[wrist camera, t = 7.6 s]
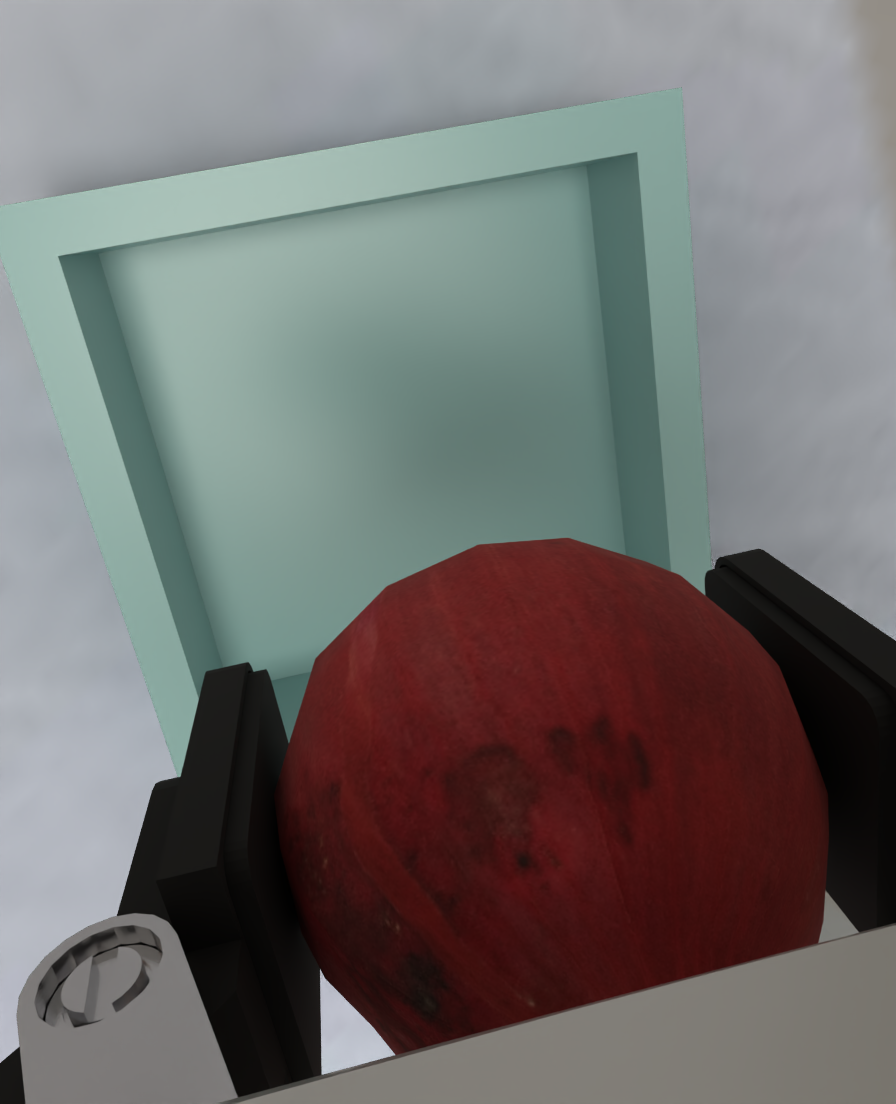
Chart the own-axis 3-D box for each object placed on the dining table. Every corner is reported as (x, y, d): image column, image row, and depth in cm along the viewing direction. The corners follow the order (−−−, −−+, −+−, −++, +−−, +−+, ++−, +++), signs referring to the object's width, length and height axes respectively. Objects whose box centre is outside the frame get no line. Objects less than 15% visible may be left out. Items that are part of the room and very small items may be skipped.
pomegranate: (247, 778, 13) (167, 1469, 6) (344, 420, 12) (406, 744, 4) (589, 836, 15) (879, 1454, 7) (719, 523, 13) (1269, 904, 6)
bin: (656, 612, 31) (718, 679, 26) (206, 713, 29) (186, 803, 25) (611, 115, 25) (681, 87, 20) (48, 214, 23) (-17, 208, 19)
